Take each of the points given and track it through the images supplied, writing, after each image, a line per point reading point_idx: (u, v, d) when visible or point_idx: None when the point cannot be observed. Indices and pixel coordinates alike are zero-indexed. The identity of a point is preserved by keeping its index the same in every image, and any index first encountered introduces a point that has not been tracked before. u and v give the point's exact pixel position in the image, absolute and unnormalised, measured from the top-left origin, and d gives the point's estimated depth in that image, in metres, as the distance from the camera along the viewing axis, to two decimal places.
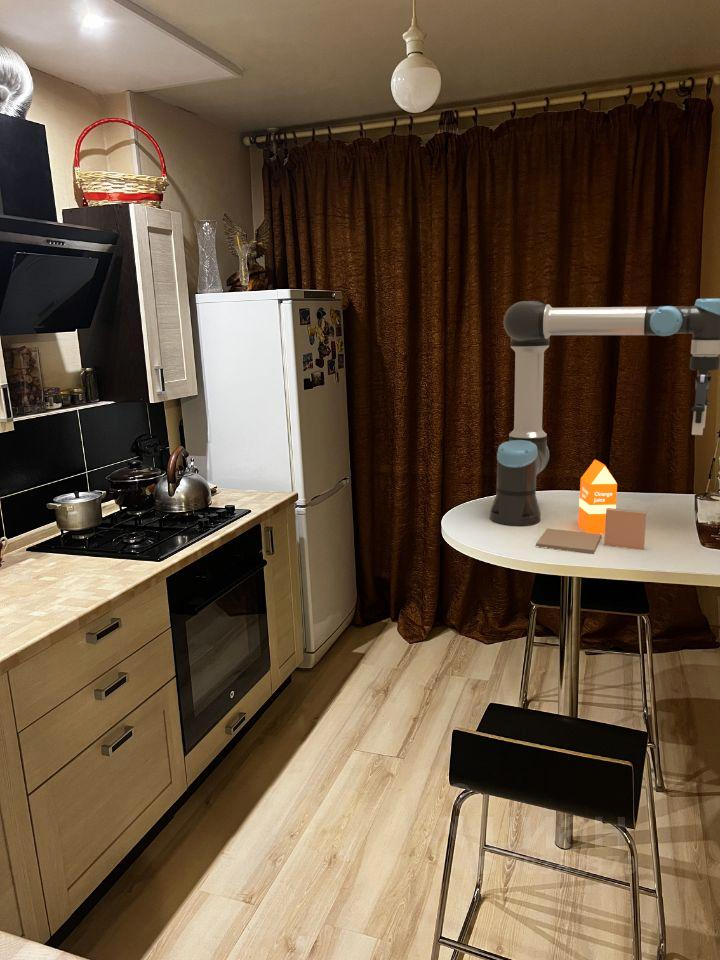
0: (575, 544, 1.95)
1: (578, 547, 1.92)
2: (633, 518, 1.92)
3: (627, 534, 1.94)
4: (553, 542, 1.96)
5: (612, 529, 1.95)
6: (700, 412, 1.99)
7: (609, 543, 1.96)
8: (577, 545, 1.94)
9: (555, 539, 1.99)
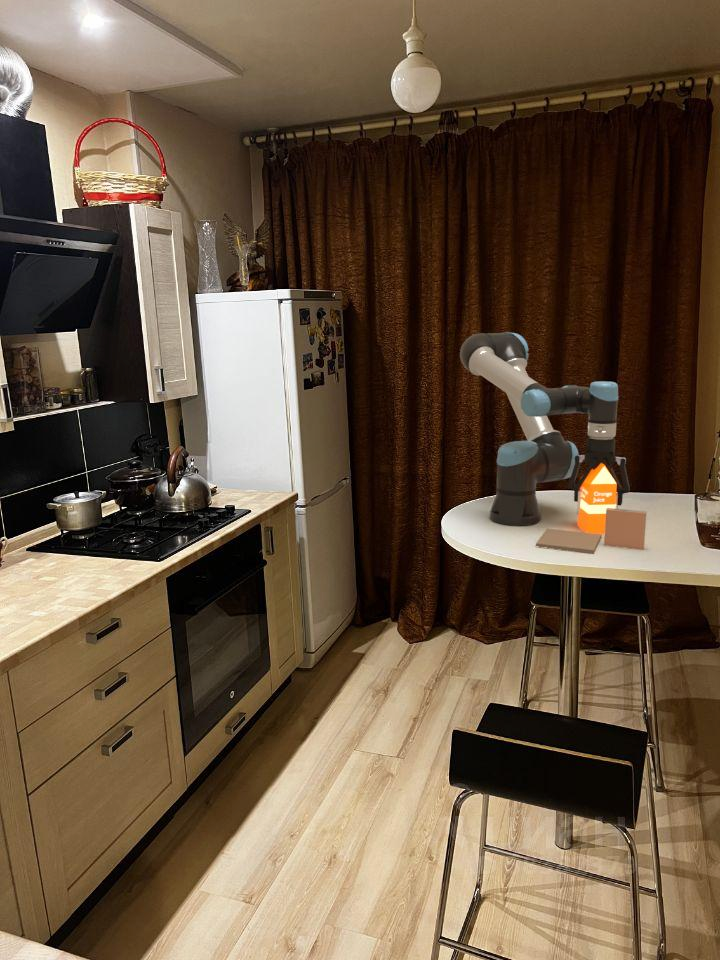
0: (575, 544, 1.95)
1: (578, 547, 1.92)
2: (633, 518, 1.92)
3: (627, 534, 1.94)
4: (553, 542, 1.96)
5: (612, 529, 1.95)
6: None
7: (609, 543, 1.96)
8: (577, 545, 1.94)
9: (555, 539, 1.99)
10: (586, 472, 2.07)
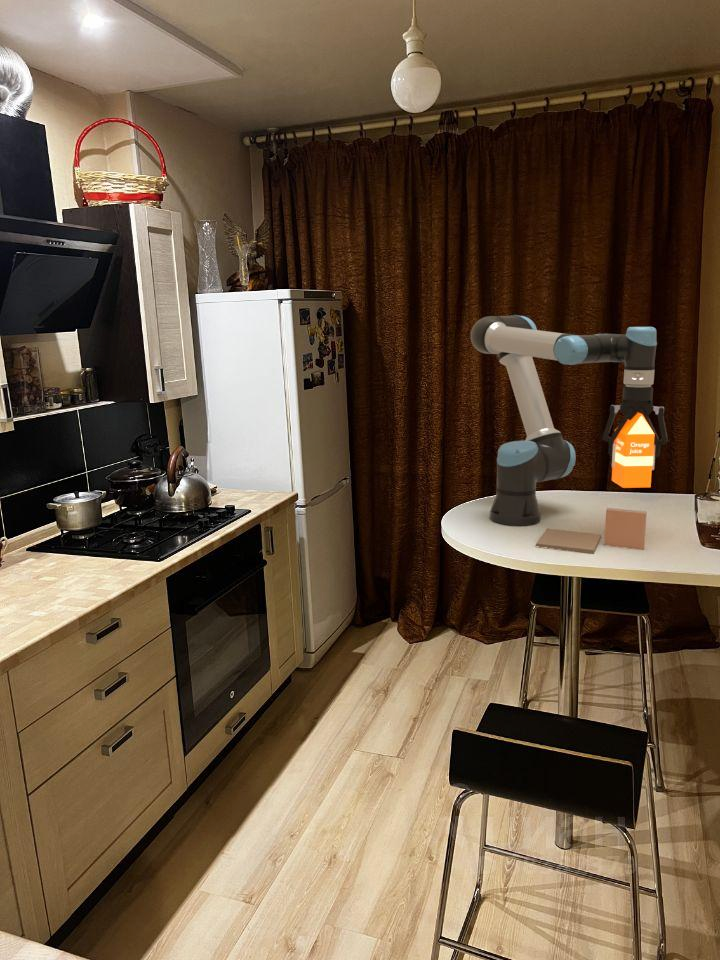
0: (575, 544, 1.95)
1: (578, 547, 1.92)
2: (633, 518, 1.92)
3: (627, 534, 1.94)
4: (553, 542, 1.96)
5: (612, 529, 1.95)
6: None
7: (609, 543, 1.96)
8: (577, 545, 1.94)
9: (555, 539, 1.99)
10: (622, 423, 1.98)
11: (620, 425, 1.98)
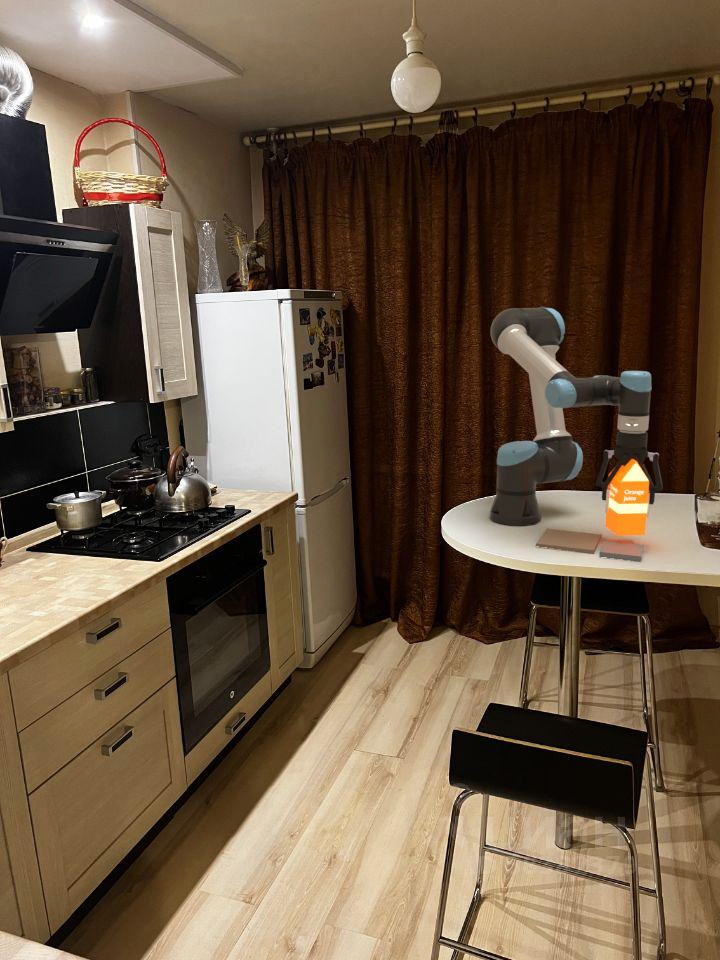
0: (575, 544, 1.95)
1: (578, 547, 1.92)
2: None
3: None
4: (553, 542, 1.96)
5: None
6: (602, 489, 1.96)
7: None
8: (577, 545, 1.94)
9: (555, 539, 1.99)
10: (615, 469, 1.93)
11: (614, 471, 1.93)
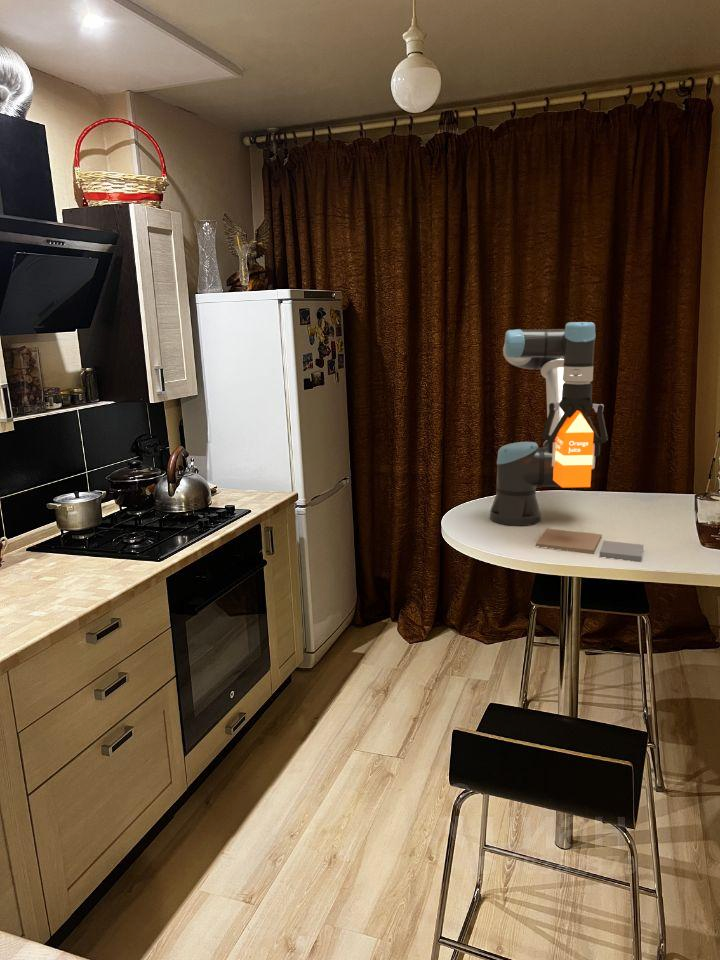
0: (575, 544, 1.95)
1: (578, 547, 1.92)
2: None
3: None
4: (553, 542, 1.96)
5: None
6: None
7: None
8: (577, 545, 1.94)
9: (555, 539, 1.99)
10: (561, 421, 1.93)
11: (560, 423, 1.93)
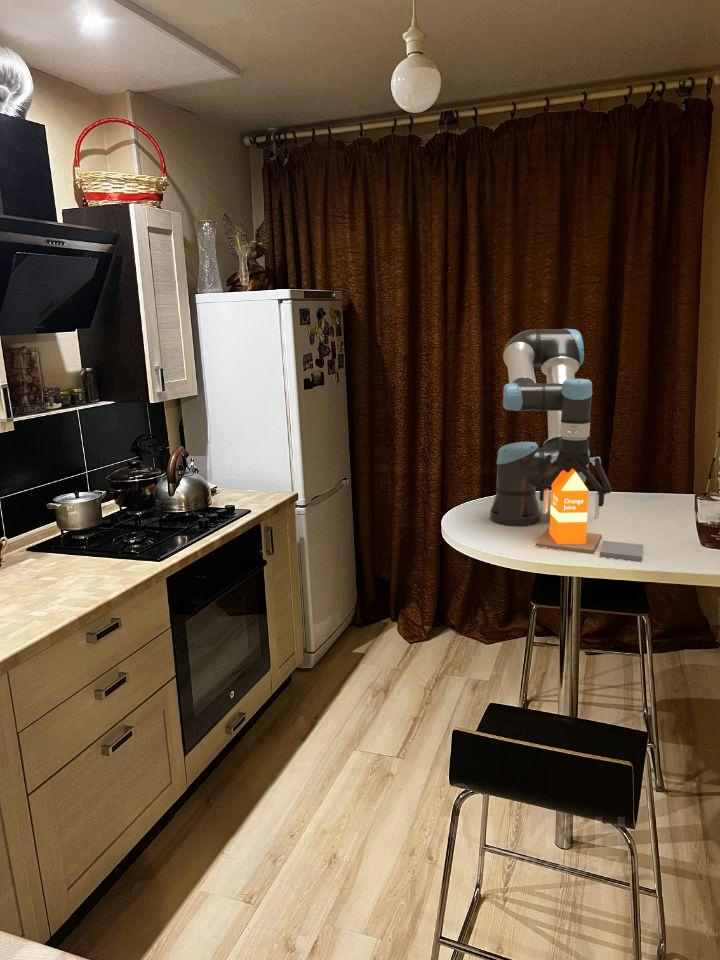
0: (575, 544, 1.95)
1: (578, 547, 1.92)
2: None
3: None
4: (553, 542, 1.96)
5: None
6: None
7: None
8: (577, 545, 1.94)
9: None
10: (556, 472, 1.96)
11: (554, 474, 1.96)
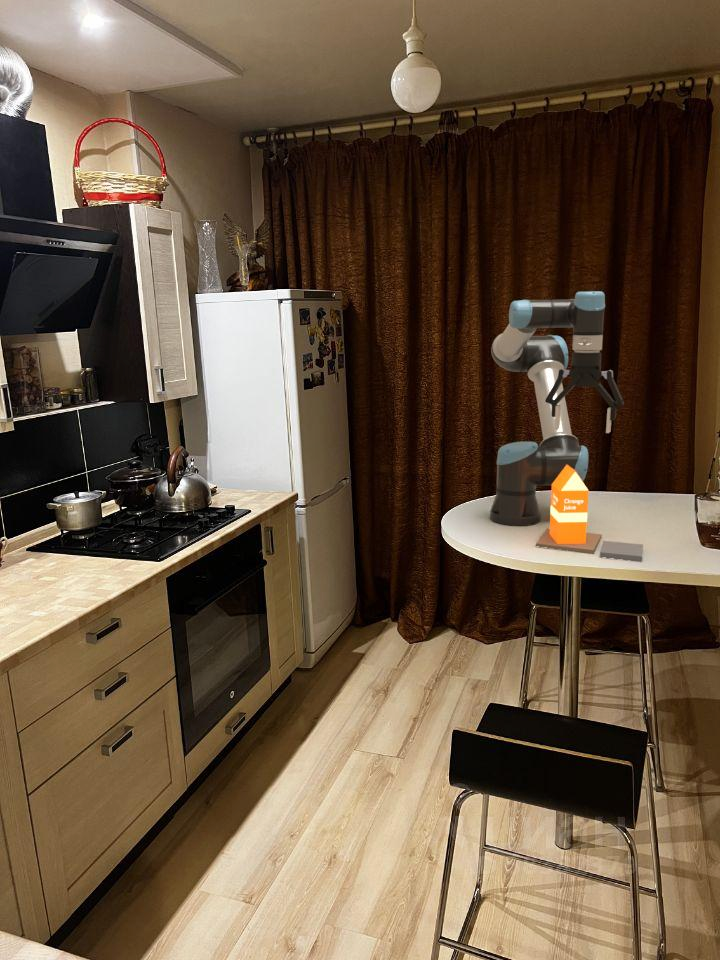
0: (575, 544, 1.95)
1: (578, 547, 1.92)
2: None
3: None
4: (553, 542, 1.96)
5: None
6: None
7: None
8: (577, 545, 1.94)
9: None
10: (568, 387, 1.96)
11: (566, 389, 1.97)
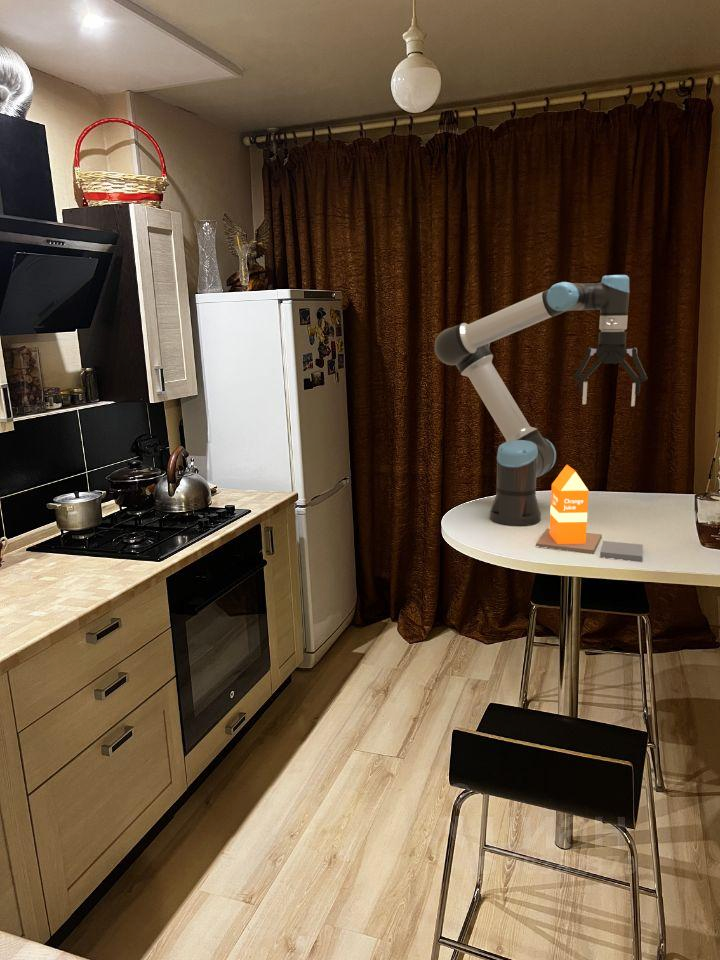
0: (575, 544, 1.95)
1: (578, 547, 1.92)
2: None
3: None
4: (553, 542, 1.96)
5: None
6: None
7: None
8: (577, 545, 1.94)
9: None
10: (595, 364, 2.12)
11: (593, 366, 2.12)
